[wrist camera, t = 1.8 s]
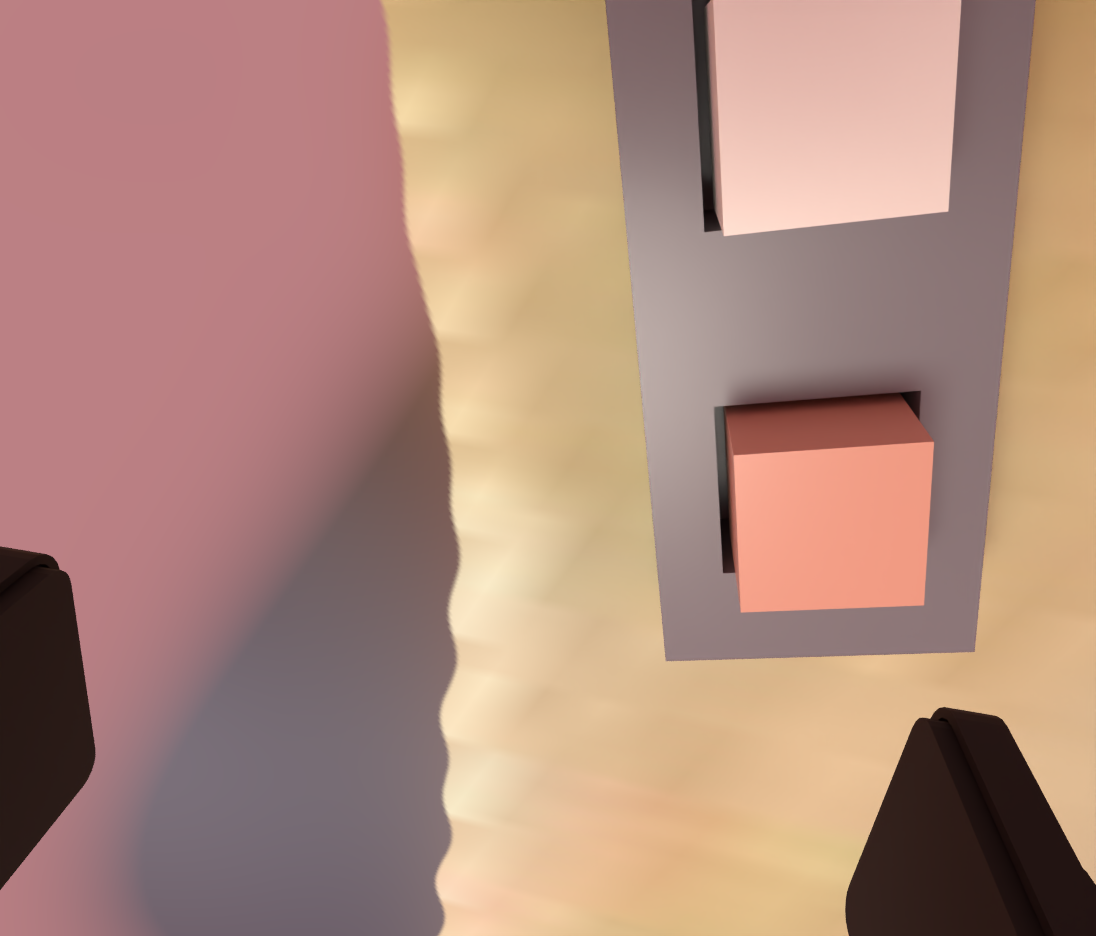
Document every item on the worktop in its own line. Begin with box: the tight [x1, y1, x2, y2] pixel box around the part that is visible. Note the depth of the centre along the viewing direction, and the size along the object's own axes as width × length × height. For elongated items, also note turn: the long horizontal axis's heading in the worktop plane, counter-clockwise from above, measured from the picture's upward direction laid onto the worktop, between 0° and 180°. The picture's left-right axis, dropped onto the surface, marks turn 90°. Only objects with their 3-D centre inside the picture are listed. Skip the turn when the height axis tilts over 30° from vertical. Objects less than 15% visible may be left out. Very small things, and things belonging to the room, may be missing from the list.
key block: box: [605, 0, 1036, 661], centre depth 28 cm, size 11×26×5 cm, turn 8°
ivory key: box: [704, 0, 961, 236], centre depth 23 cm, size 6×6×5 cm
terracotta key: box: [724, 392, 934, 613], centre depth 28 cm, size 6×6×5 cm
